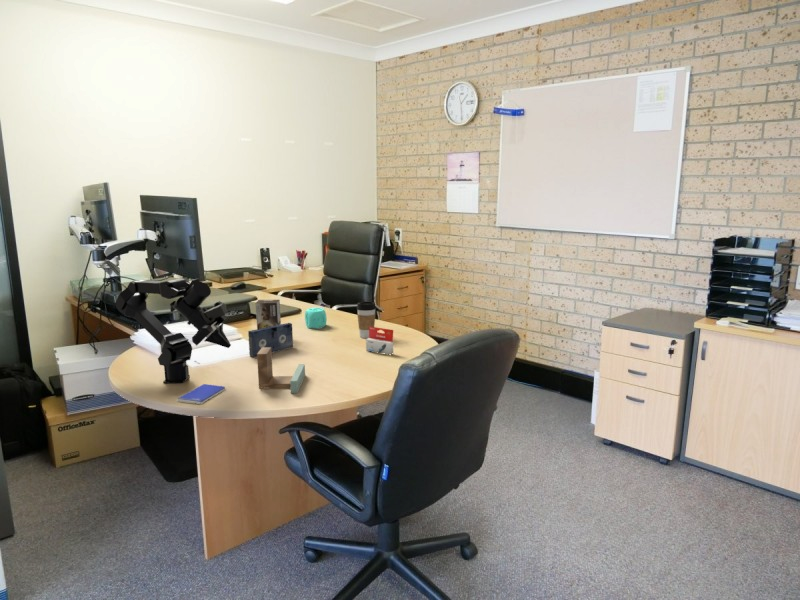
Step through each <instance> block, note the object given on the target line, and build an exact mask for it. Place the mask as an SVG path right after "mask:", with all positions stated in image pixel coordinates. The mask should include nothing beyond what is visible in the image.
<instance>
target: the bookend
mask: <svg viewBox="0 0 800 600" xmlns="http://www.w3.org/2000/svg"><path fill="white" fill-rule="evenodd" d="M272 354H273V353H272V351H271V347H262V348H261V349H260V351H259V352H258V353H257V357H256V359H257V360H256V362H257V363H256V364H257V377H258V378H257V379H258V389H291V384H290V381H291V379H292V377H293V375H273V373H274V372H273V357H272Z"/></svg>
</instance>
